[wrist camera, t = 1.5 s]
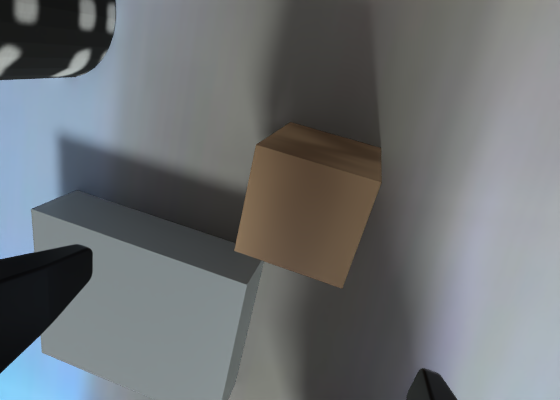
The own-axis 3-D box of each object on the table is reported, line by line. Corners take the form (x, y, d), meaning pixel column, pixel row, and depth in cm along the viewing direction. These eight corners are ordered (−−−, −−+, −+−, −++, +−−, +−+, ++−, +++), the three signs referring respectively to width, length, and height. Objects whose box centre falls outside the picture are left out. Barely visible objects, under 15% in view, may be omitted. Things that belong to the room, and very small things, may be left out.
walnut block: (381, 147, 19) (381, 182, 13) (352, 229, 21) (342, 288, 15) (290, 121, 19) (256, 144, 14) (270, 203, 21) (234, 250, 16)
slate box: (267, 250, 23) (247, 284, 19) (237, 379, 28) (216, 425, 24) (81, 188, 25) (31, 208, 22) (82, 317, 30) (41, 352, 26)
